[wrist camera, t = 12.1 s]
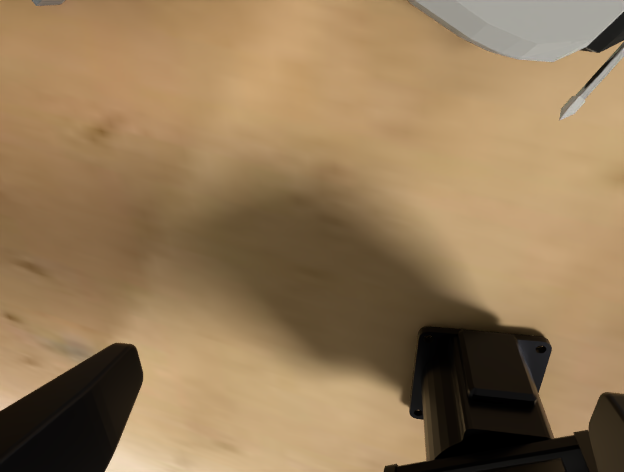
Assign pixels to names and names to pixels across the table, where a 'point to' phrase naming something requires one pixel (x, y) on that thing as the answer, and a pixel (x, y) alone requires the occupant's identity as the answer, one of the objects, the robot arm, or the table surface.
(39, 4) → the tower base
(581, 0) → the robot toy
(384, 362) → the table surface
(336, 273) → the table surface
